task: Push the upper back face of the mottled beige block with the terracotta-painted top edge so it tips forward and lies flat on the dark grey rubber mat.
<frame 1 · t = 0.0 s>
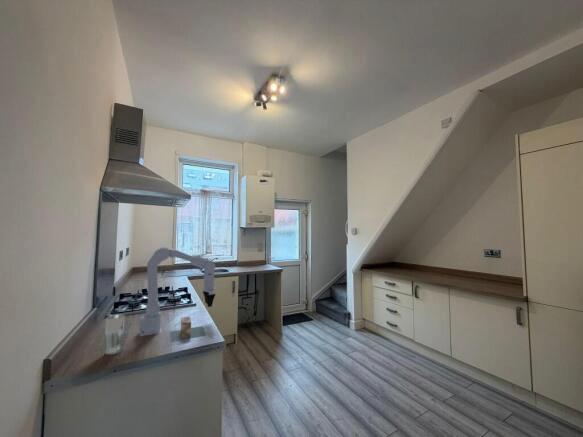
hand: (208, 304, 141), 10 cm above the counter, tool pointing down, fingers open, 7 cm apart
rubber mat: (187, 334, 124), on the counter
beer glass: (114, 352, 106), on the counter
mottled beige block: (185, 333, 123), resting on rubber mat
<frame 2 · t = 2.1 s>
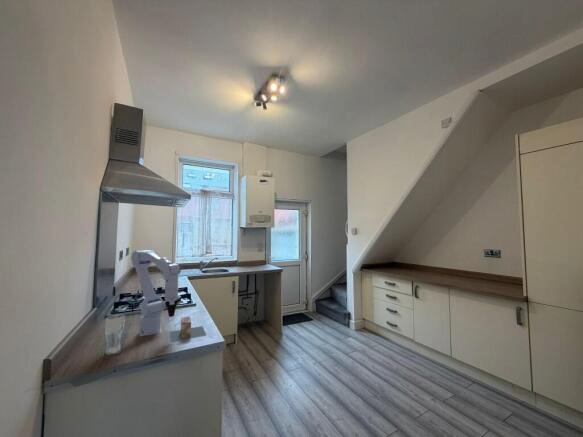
hand: (171, 316, 121), 10 cm above the counter, tool pointing down, fingers closed
nothing on the counter moved.
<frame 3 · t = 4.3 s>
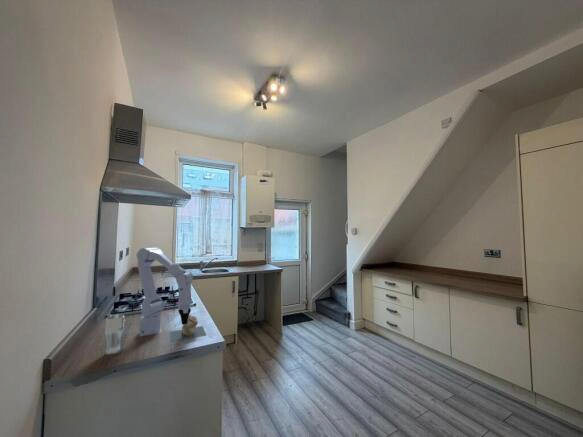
hand: (184, 323, 123), 6 cm above the counter, tool pointing down, fingers closed, pressing on mottled beige block
mottled beige block: (186, 331, 124), point 1 cm above the counter, tilted 27°, touching gripper, rubber mat
everything else where it was.
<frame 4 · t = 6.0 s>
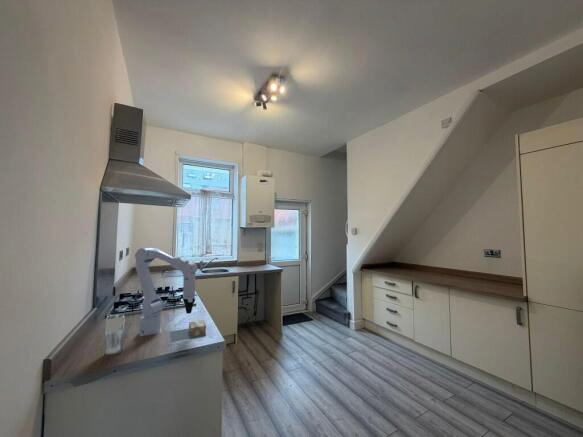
hand: (188, 313, 125), 10 cm above the counter, tool pointing down, fingers closed
mottled beige block: (190, 329, 125), point 2 cm above the counter, tilted 90°, touching rubber mat
everything else where it was.
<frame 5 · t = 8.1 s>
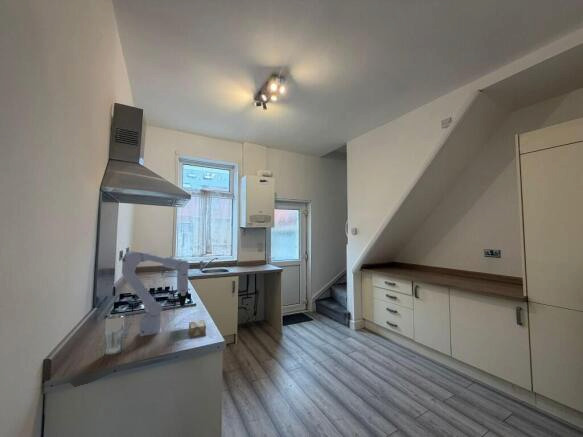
hand: (182, 305, 138), 10 cm above the counter, tool pointing down, fingers closed
nothing on the counter moved.
at the end: mottled beige block tilted 90°; mottled beige block inside the target area (3.0 cm from its centre), point 2.5 cm above the counter; the gripper is holding nothing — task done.
